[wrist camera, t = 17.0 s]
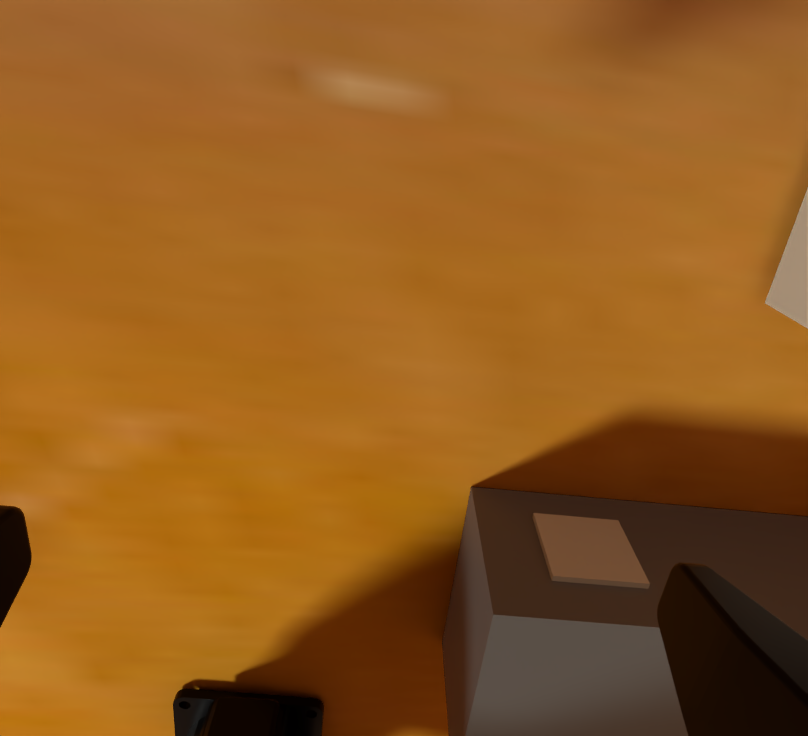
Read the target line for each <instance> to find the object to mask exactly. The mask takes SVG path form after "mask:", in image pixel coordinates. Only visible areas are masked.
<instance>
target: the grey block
mask: <svg viewBox="0 0 808 736" xmlns="http://www.w3.org/2000/svg"><path fill="white" fill-rule="evenodd" d="M680 562H683V563H695V564H704V565H706V566H708V567H710V568H711V569H713V570H714V571H716V572H717V573H718V574H720V575H721V576H722V577H724V578H725V579H726V580H728V581H729V582H730V583H732V584H733V585H734V586H736V587H737V588H738V589H740V590H741V591H742V592H744V593H745V594H747V595H748V596H749V597H751V598H752V599H753V600H755V601H756V602H757V603H759V604H760V605H761V606H763V607H764V608H765V609H767V610H768V611H769V612H771V613H772V614H773V615H775V616H776V617H778V618H779V619H780V620H782V621H783V622H784V623H786V624H787V625H788V626H790V627H791V628H792V629H794V630H795V631H796V632H798V633H799V634H800V635H802V636H803V637H805V638H806V639H807V640H808V517H806V516H794V515H783V514H772V513H761V512H749V511H738V510H727V509H715V508H704V507H693V506H682V505H670V504H659V503H648V502H637V501H625V500H614V499H603V498H591V497H580V496H569V495H558V494H546V493H535V492H524V491H513V490H501V489H490V488H479V487H471V491H470V496H469V501H468V507H467V512H466V517H465V523H464V528H463V533H462V539H461V544H460V549H459V555H458V560H457V565H456V571H455V576H454V581H453V587H452V592H451V597H450V603H449V608H448V614H447V619H446V624H445V630H444V635H443V640H442V648H443V662H444V676H445V689H446V703H447V717H448V731H449V736H688V733H687V730H686V726H685V723H684V719H683V716H682V713H681V709H680V705H679V701H678V697H677V694H676V690H675V686H674V682H673V678H672V675H671V671H670V667H669V663H668V659H667V655H666V652H665V648H664V644H663V640H662V636H661V633H660V629H659V625H658V620H657V607H658V603H659V600H660V598H661V595H662V592H663V590H664V587H665V584H666V582H667V579H668V576H669V574H670V571H671V569H672V567H673V566H674V565H675V564H677V563H680Z"/></svg>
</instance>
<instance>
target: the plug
mask: <svg viewBox="0 0 808 736" xmlns="http://www.w3.org/2000/svg"><path fill="white" fill-rule="evenodd" d="M765 303H766V304H767V305H769V306H771V307H772V308H774V309H776V310H777V311H779V312H781V313H782V314H784V315H786V316H788V317H789V318H791V319H793V320H794V321H796V322H798V323H799V324H801V325H803V326H804V327H806V328H808V189H807V191H806V194H805V197H804V199H803V202H802V205H801V207H800V210H799V213H798V215H797V218H796V221H795V223H794V226H793V229H792V231H791V234H790V237H789V240H788V242H787V245H786V248H785V250H784V253H783V256H782V258H781V261H780V264H779V266H778V269H777V272H776V274H775V277H774V280H773V282H772V285H771V288H770V290H769V293H768V296H767V298H766V301H765Z"/></svg>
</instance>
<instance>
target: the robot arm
mask: <svg viewBox="0 0 808 736" xmlns="http://www.w3.org/2000/svg"><path fill="white" fill-rule="evenodd" d="M30 565H31V548H30V543H29V538H28V532H27V527H26V522H25V517H24V514H23V512H22V511H21V509H20V508H17V507H14V506H3V505H0V627H1V625H2V623H3V621H4V619H5V617H6V615H7V613H8V611H9V609H10V607H11V605H12V603H13V601H14V599H15V598H16V596H17V594H18V592H19V590H20V588H21V586H22V584H23V582H24V580H25V578H26V576H27V573H28V571H29V568H30ZM657 620H658V625H659V629H660V633H661V636H662V640H663V644H664V648H665V652H666V655H667V659H668V663H669V667H670V671H671V675H672V678H673V682H674V686H675V690H676V694H677V697H678V701H679V705H680V709H681V713H682V716H683V719H684V723H685V726H686V730H687V733H688V736H808V640H807V639H806V638H805V637H803V636H802V635H800V634H799V633H798V632H796V631H795V630H794V629H792V628H791V627H790V626H788V625H787V624H786V623H784V622H783V621H782V620H780V619H779V618H778V617H776V616H775V615H773V614H772V613H771V612H769V611H768V610H767V609H765V608H764V607H763V606H761V605H760V604H759V603H757V602H756V601H755V600H753V599H752V598H751V597H749V596H748V595H747V594H745V593H744V592H742V591H741V590H740V589H738V588H737V587H736V586H734V585H733V584H732V583H730V582H729V581H728V580H726V579H725V578H724V577H722V576H721V575H720V574H718V573H717V572H716V571H714V570H713V569H711V568H710V567H708V566H706V565H704V564H695V563H683V562H680V563H677V564H675V565H674V566H673V567H672V569H671V571H670V574H669V576H668V579H667V582H666V584H665V587H664V590H663V592H662V595H661V598H660V600H659V603H658V607H657ZM173 711H174V725H175V736H322V723H323V711H324V705H323V703H322V701H320V700H318V699H315V698H306V697H292V696H278V695H263V694H249V693H235V692H221V691H207V690H193V689H182V690H180V691H178V692H177V694H176V697H175V699H174V702H173Z"/></svg>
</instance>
